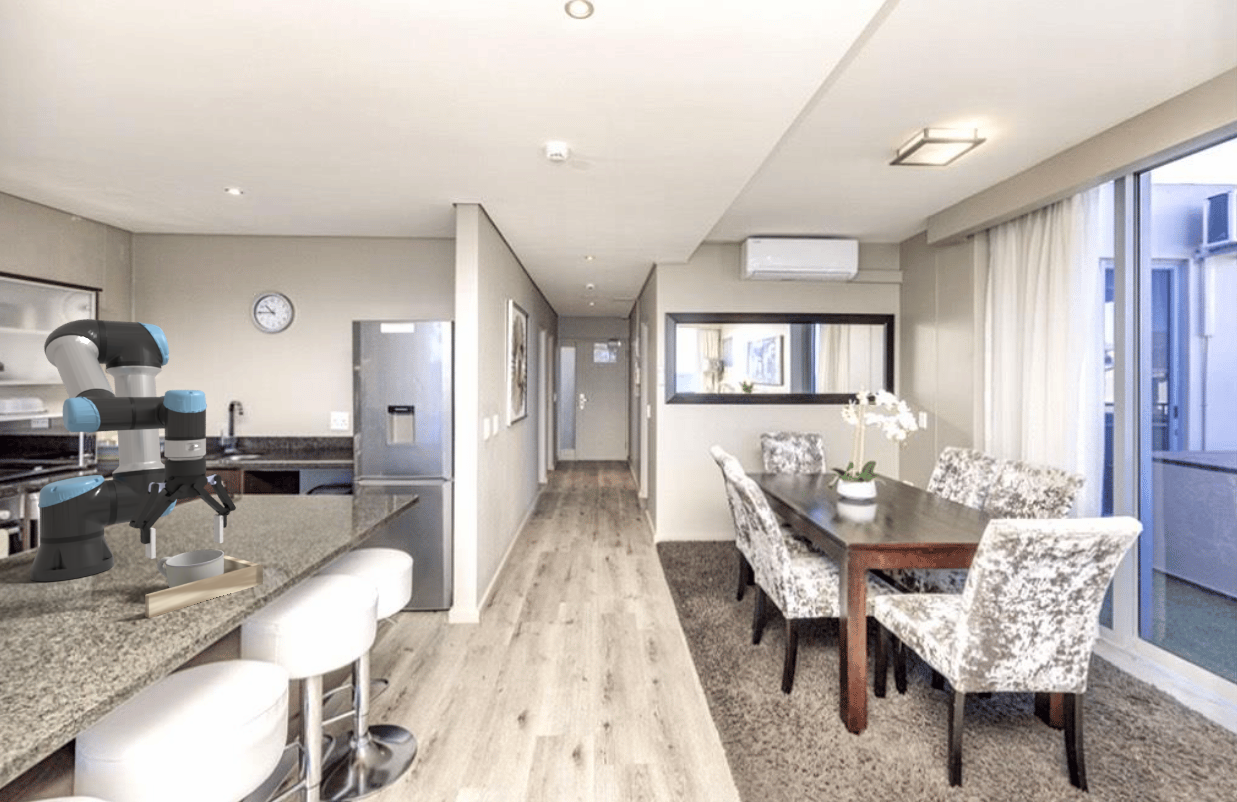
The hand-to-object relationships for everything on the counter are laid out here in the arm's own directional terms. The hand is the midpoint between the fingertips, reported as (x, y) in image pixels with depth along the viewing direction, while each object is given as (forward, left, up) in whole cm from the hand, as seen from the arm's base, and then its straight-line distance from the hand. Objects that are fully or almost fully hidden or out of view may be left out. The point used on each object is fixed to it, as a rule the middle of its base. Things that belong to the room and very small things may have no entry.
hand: (186, 549), depth 130 cm
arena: (+2, -1, -9) cm, 10 cm away
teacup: (0, 0, -10) cm, 10 cm away
